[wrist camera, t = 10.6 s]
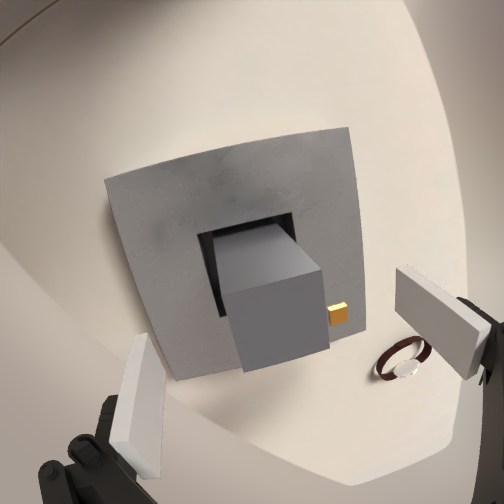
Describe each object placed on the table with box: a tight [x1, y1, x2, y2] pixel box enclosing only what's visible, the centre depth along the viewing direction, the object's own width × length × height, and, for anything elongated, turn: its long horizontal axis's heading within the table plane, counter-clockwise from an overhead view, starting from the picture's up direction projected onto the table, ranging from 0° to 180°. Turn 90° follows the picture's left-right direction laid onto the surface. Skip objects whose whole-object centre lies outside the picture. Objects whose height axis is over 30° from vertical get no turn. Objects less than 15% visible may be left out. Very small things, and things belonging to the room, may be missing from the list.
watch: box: [376, 336, 432, 381], centre depth 33 cm, size 8×5×4 cm, turn 111°
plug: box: [212, 217, 330, 373], centre depth 21 cm, size 5×5×12 cm
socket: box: [104, 127, 366, 381], centre depth 25 cm, size 18×18×4 cm
